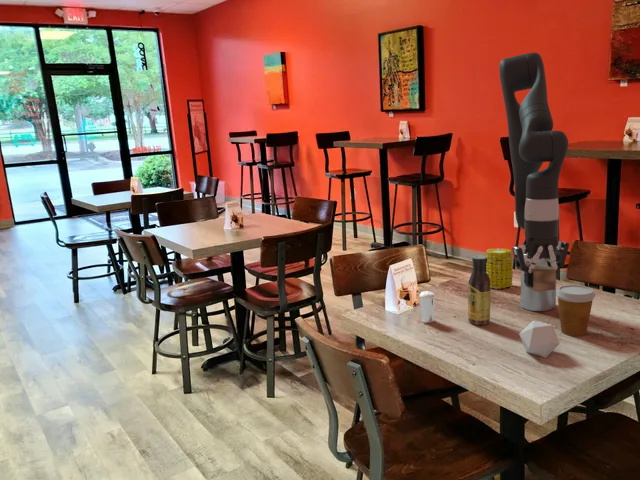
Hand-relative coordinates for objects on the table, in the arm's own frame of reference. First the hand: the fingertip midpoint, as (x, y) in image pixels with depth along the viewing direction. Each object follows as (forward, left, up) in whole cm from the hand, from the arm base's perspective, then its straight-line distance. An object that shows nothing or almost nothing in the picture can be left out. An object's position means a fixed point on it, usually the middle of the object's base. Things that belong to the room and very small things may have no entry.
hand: (539, 285), depth 135 cm
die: (0, 0, -18) cm, 18 cm away
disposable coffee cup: (-16, -9, -18) cm, 26 cm away
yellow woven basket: (-18, -53, -18) cm, 59 cm away
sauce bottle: (+4, -24, -18) cm, 30 cm away
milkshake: (+17, -30, -18) cm, 39 cm away
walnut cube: (0, 0, -1) cm, 1 cm away
